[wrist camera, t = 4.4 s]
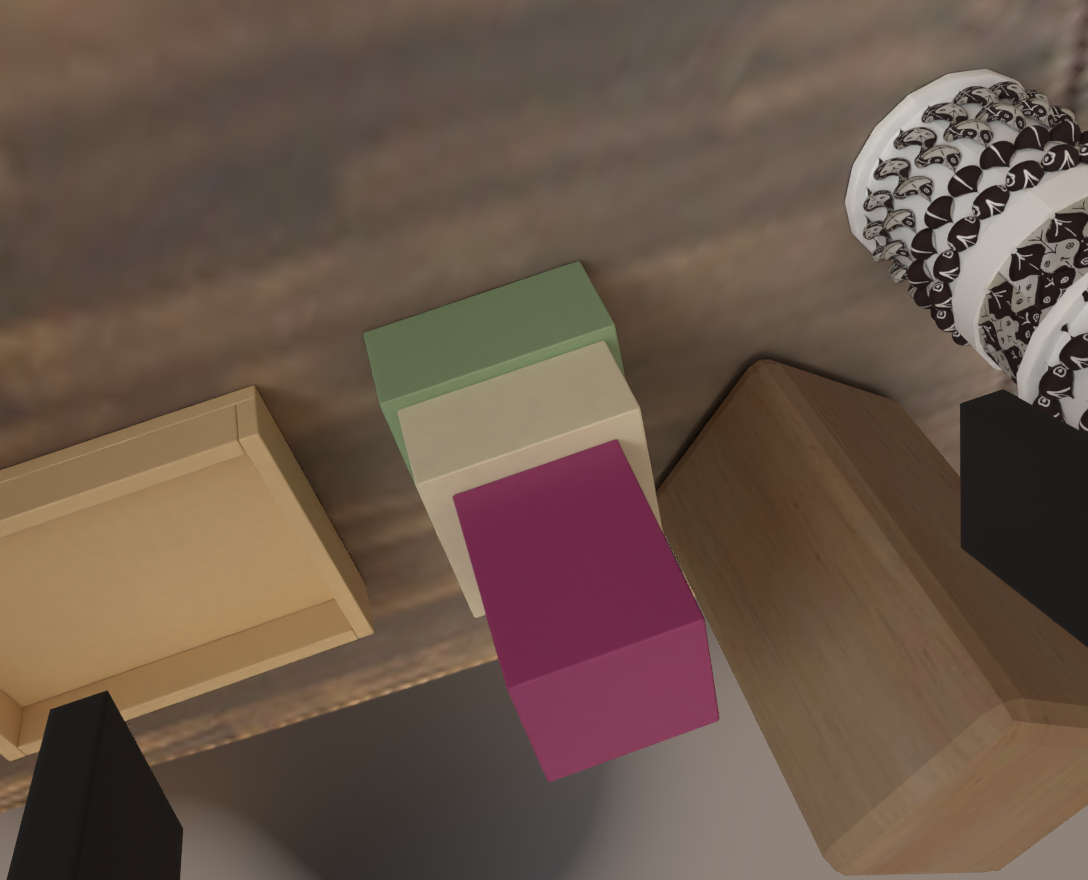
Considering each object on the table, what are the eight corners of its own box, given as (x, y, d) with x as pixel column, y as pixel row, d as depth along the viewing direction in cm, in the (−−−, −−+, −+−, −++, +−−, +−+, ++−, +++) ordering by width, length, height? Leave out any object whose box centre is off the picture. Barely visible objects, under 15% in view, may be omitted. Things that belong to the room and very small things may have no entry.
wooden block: (900, 394, 50) (1191, 740, 35) (783, 531, 55) (997, 882, 40) (753, 344, 45) (1023, 723, 30) (639, 500, 50) (825, 887, 35)
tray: (17, 707, 48) (9, 762, 45) (-186, 531, 38) (-207, 591, 36) (366, 585, 48) (375, 633, 46) (254, 384, 39) (258, 433, 37)
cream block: (454, 544, 41) (474, 619, 39) (396, 409, 36) (415, 485, 33) (633, 482, 42) (667, 551, 39) (604, 339, 36) (640, 407, 33)
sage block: (427, 483, 45) (446, 555, 42) (362, 332, 39) (379, 404, 35) (613, 419, 45) (646, 486, 42) (579, 259, 39) (615, 324, 36)
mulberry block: (492, 596, 38) (548, 783, 32) (451, 495, 34) (506, 690, 28) (639, 544, 38) (720, 721, 33) (617, 437, 34) (705, 619, 28)
